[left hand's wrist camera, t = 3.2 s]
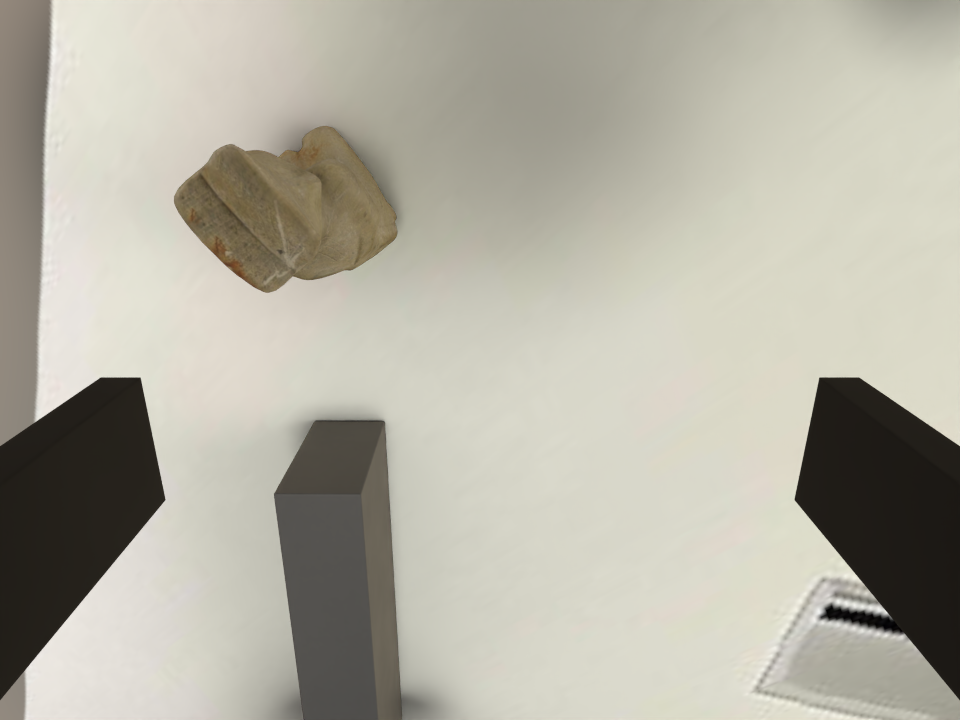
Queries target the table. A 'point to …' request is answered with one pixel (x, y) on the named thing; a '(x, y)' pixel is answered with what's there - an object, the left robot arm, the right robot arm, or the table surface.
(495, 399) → the table surface
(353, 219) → the sculpture
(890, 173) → the table surface
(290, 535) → the bar
